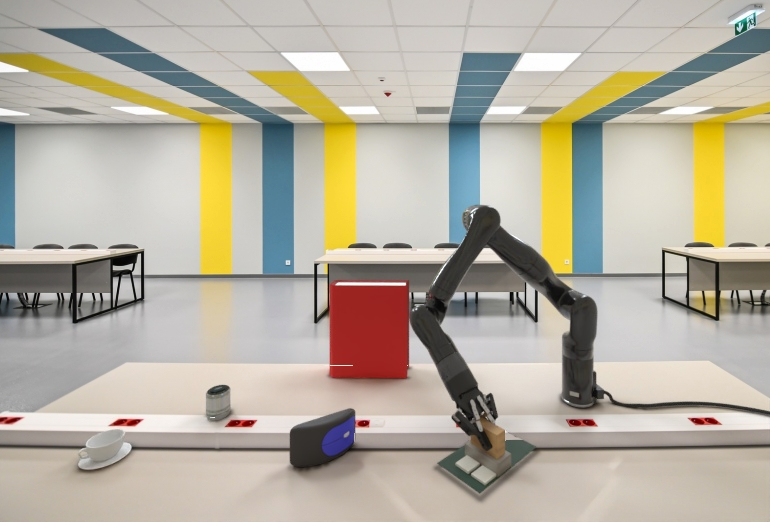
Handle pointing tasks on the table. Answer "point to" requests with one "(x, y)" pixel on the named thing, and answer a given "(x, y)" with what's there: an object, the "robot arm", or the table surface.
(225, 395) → the camera lens
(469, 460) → the white square tile
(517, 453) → the slate board
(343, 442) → the computer mouse
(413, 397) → the table surface
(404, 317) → the book
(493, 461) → the eraser
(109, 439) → the teacup
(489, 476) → the smudge
